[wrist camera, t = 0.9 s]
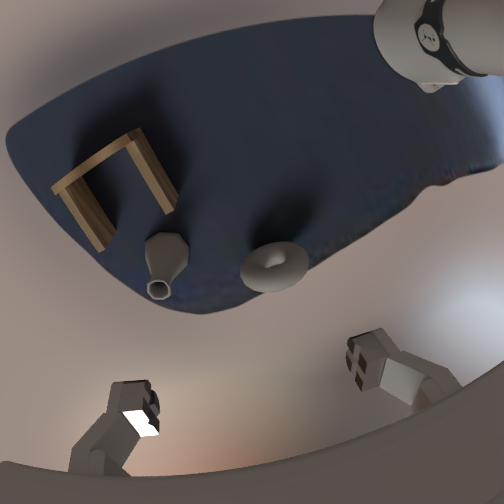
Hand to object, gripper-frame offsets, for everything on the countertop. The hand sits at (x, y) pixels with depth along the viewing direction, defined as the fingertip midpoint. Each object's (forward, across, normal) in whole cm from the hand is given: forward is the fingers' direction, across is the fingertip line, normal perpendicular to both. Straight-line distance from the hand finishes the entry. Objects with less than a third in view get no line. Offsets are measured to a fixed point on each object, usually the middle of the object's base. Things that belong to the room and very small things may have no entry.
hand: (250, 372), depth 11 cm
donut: (+34, -7, +12) cm, 37 cm away
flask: (+35, +8, +10) cm, 37 cm away
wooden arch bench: (+34, +12, -2) cm, 37 cm away
